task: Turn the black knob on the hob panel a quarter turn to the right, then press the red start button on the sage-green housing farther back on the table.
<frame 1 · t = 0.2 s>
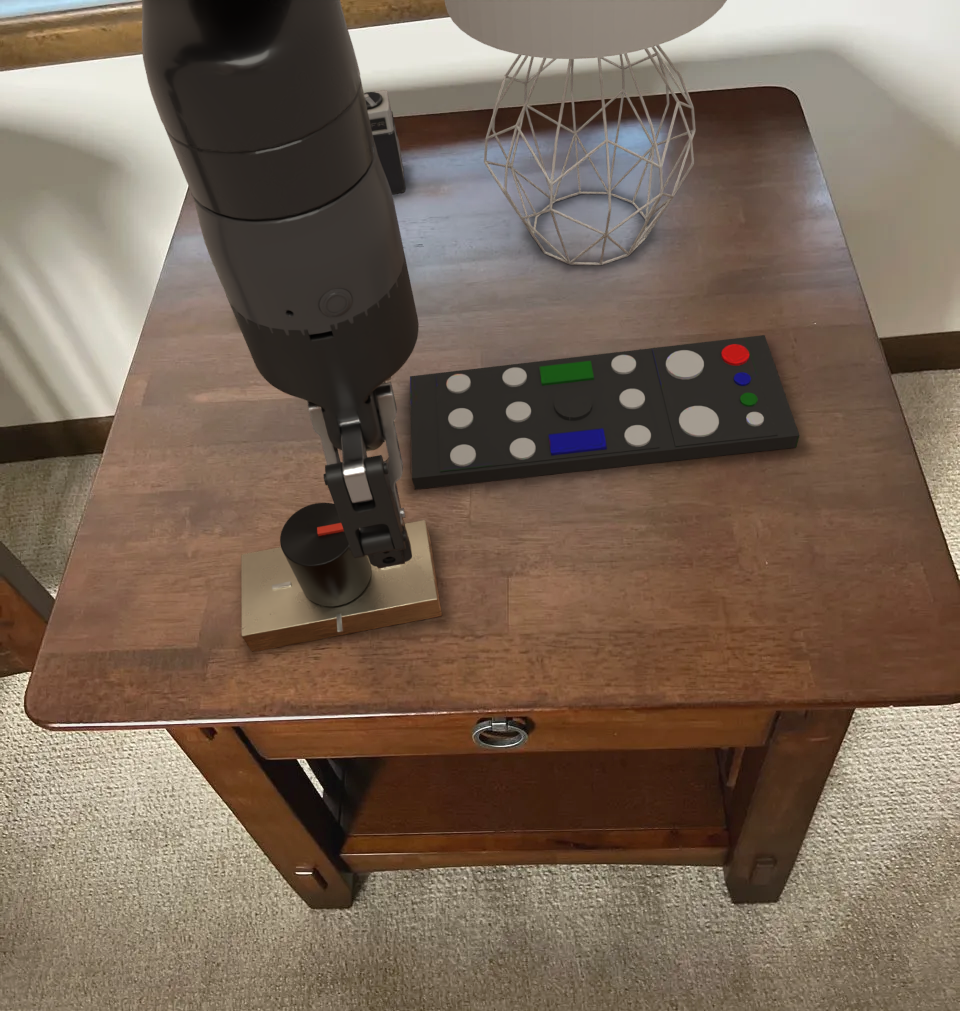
hand: (384, 495, 51), 18 cm above the table, tool pointing down, fingers open, 8 cm apart
hob panel: (343, 593, 69), on the table
hob knob: (326, 553, 64), point 5 cm above the table, hinge at 0.0°
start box: (298, 282, 90), on the table
start button: (285, 244, 86), point 5 cm above the table, slide at 0.2 cm
camera: (340, 201, 97), on the table
remote control: (594, 417, 76), on the table
table lamp: (588, 229, 91), on the table
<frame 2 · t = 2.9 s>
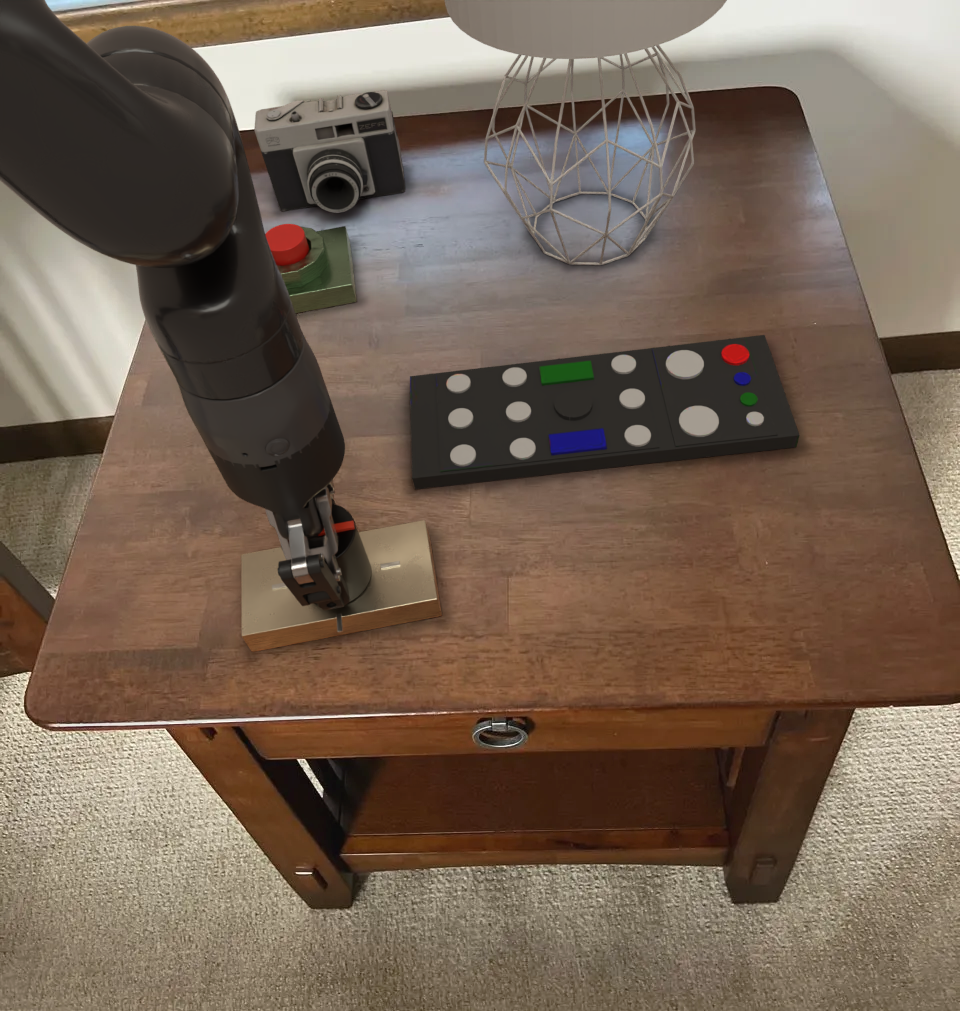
hand: (332, 567, 66), 4 cm above the table, tool pointing down, fingers closed on hob knob, 5 cm apart
hob knob: (326, 553, 64), point 5 cm above the table, hinge at 0.2°, touching gripper
everything else where it was.
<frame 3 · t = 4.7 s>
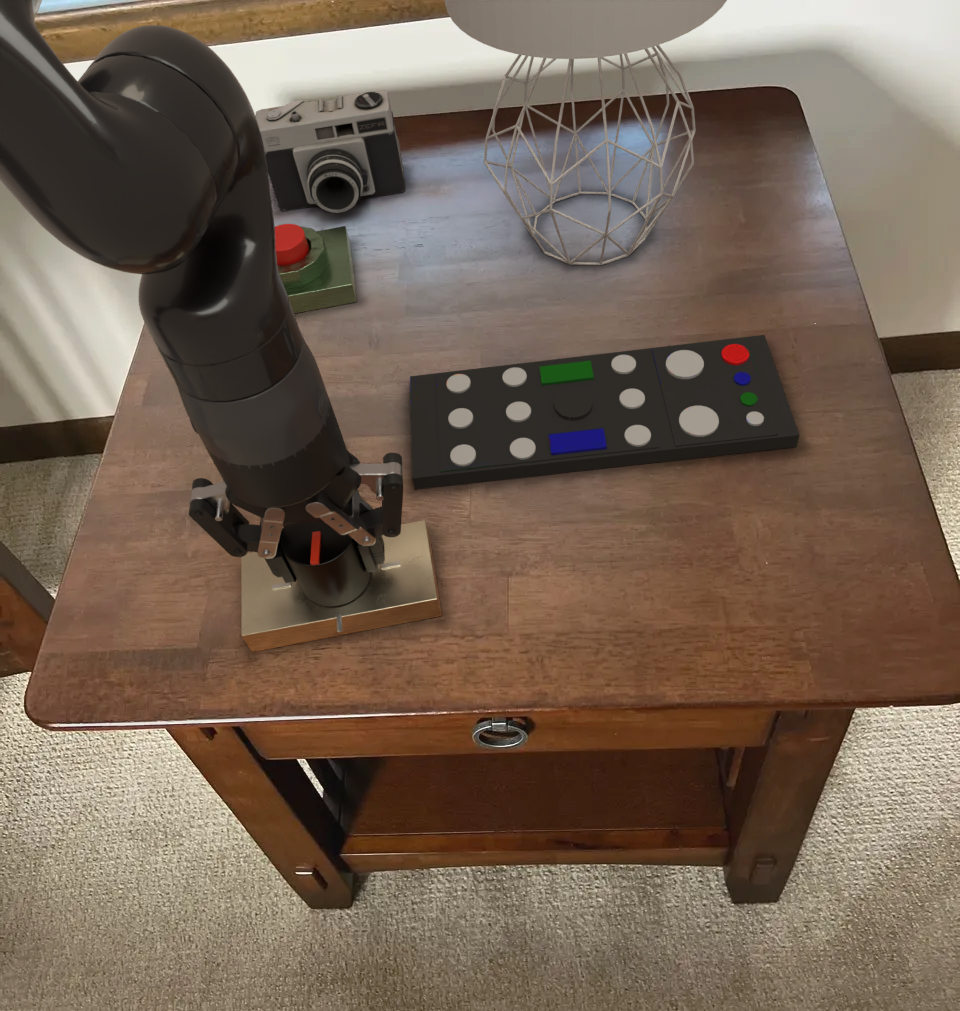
hand: (331, 566, 66), 4 cm above the table, tool pointing down, fingers closed on hob knob, 5 cm apart
hob knob: (326, 553, 64), point 5 cm above the table, hinge at -96.4°, touching gripper
everything else where it was.
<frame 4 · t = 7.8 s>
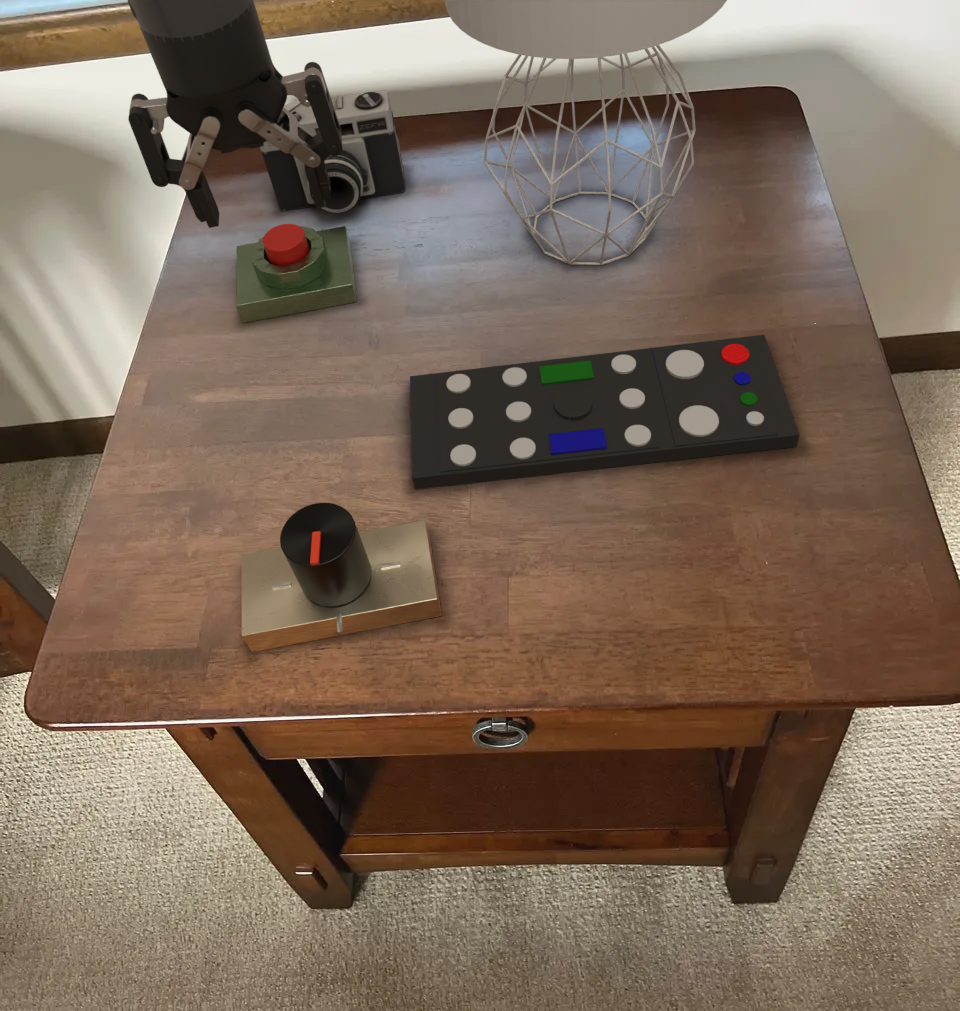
hand: (267, 211, 72), 15 cm above the table, tool pointing down, fingers open, 8 cm apart
hob knob: (326, 553, 64), point 5 cm above the table, hinge at -96.5°
everything else where it was.
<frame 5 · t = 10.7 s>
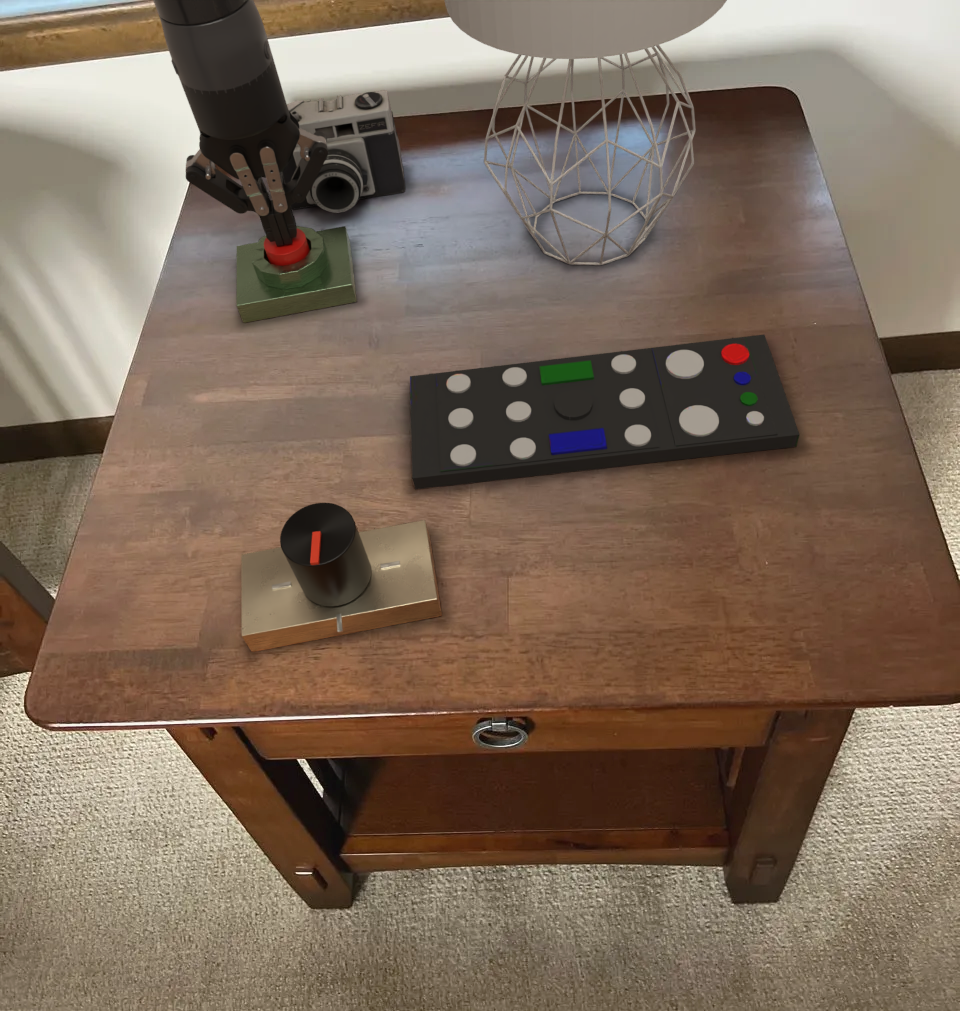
hand: (284, 240, 86), 5 cm above the table, tool pointing down, fingers closed
start button: (287, 248, 87), point 4 cm above the table, slide at -0.2 cm, touching gripper
everything else where it was.
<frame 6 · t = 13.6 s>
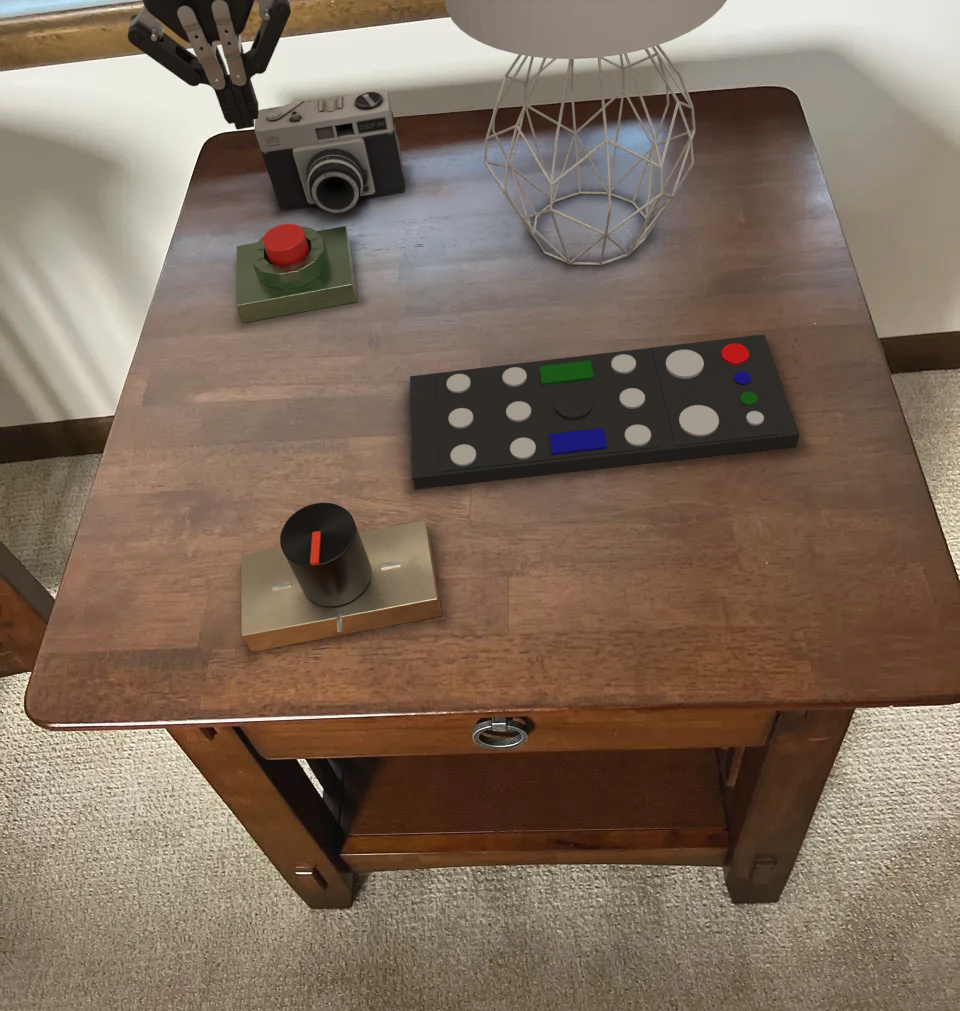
hand: (245, 123, 76), 17 cm above the table, tool pointing down, fingers closed
start button: (285, 244, 86), point 5 cm above the table, slide at 0.2 cm
everything else where it was.
at the end: hob knob at -96° (first picture: +0°); start button pushed in 1.0 cm at the most during the clip, back to 0.2 cm at the end; start button slide at 0.2 cm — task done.
